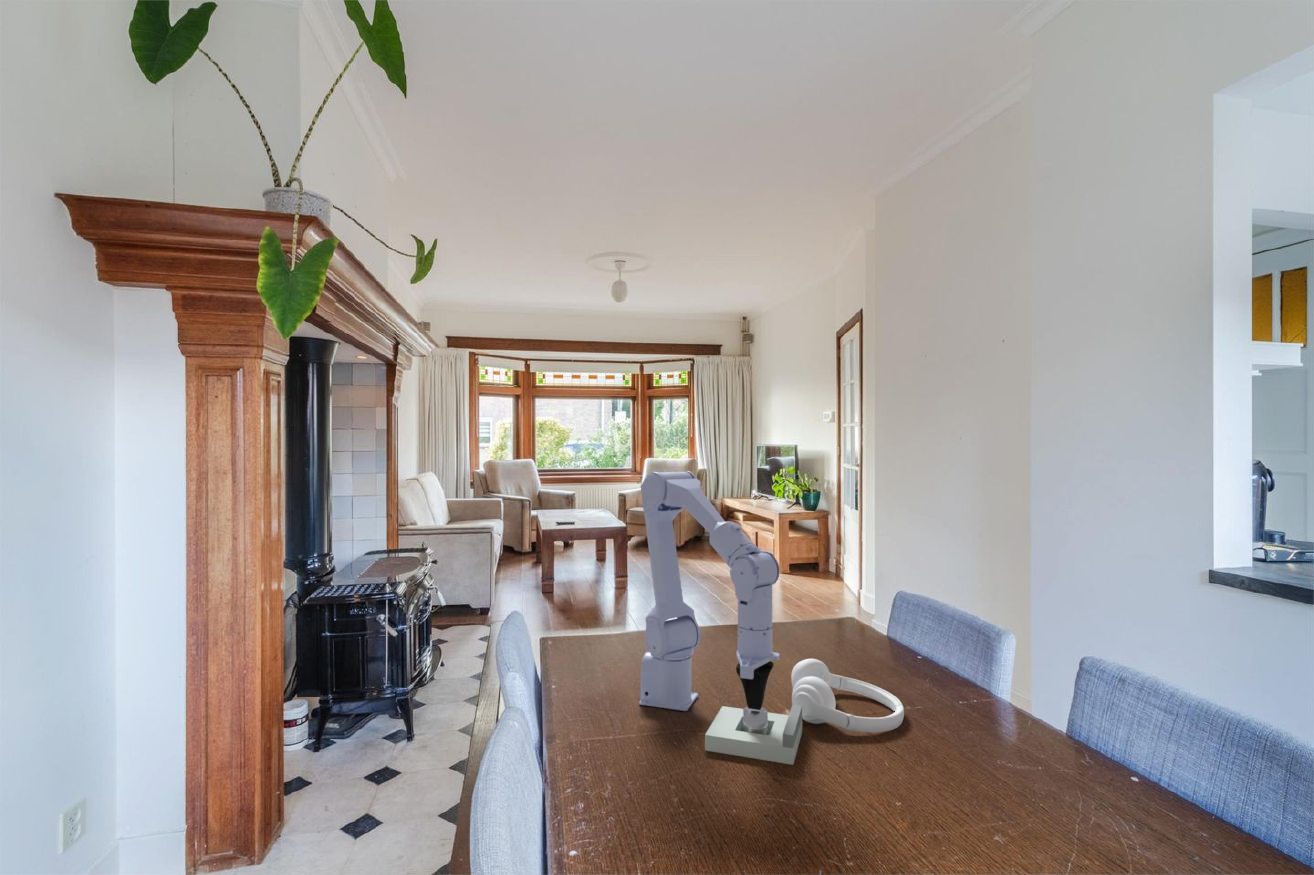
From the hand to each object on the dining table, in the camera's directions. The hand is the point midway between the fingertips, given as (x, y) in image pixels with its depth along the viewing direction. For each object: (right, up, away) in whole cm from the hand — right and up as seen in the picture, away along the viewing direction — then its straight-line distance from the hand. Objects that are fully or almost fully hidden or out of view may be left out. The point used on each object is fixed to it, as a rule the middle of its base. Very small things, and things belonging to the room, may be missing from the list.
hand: (754, 707), depth 105 cm
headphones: (+19, -6, +11) cm, 23 cm away
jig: (0, -6, 0) cm, 6 cm away
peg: (0, -6, 0) cm, 6 cm away
